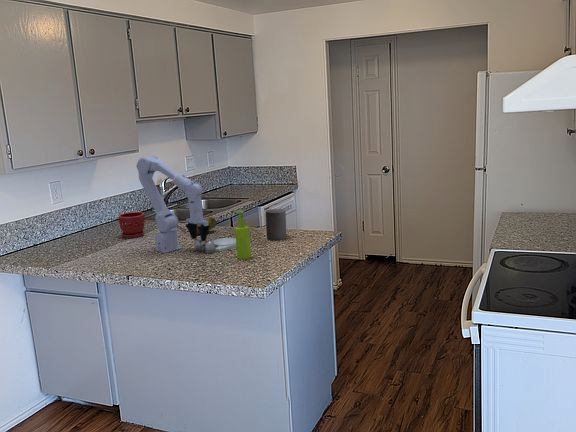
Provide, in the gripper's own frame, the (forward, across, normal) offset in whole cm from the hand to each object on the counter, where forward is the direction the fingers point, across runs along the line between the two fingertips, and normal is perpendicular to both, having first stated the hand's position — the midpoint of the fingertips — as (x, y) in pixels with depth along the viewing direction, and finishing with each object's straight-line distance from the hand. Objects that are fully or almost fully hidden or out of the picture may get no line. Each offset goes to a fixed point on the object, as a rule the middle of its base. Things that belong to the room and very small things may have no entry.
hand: (199, 239), depth 252 cm
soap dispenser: (+5, +27, +3) cm, 28 cm away
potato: (+5, -28, +23) cm, 36 cm away
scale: (+5, +3, +11) cm, 12 cm away
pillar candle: (+5, +14, +35) cm, 38 cm away
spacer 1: (+5, 0, 0) cm, 5 cm away
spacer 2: (+5, +8, 0) cm, 9 cm away
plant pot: (+5, -57, -2) cm, 57 cm away
